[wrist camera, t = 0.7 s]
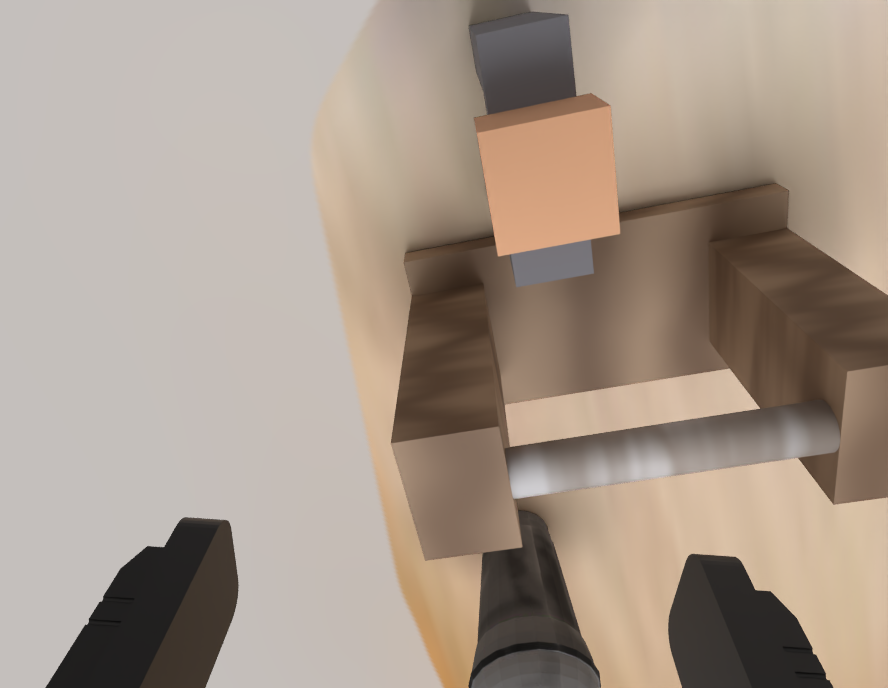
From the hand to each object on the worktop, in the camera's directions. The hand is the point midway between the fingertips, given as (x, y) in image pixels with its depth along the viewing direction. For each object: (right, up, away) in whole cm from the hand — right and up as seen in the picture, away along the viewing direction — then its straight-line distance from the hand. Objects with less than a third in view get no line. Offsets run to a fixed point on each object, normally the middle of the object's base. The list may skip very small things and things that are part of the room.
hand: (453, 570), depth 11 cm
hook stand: (+9, +6, +26) cm, 28 cm away
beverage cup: (+5, -9, +34) cm, 36 cm away
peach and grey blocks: (+3, +16, +21) cm, 26 cm away
